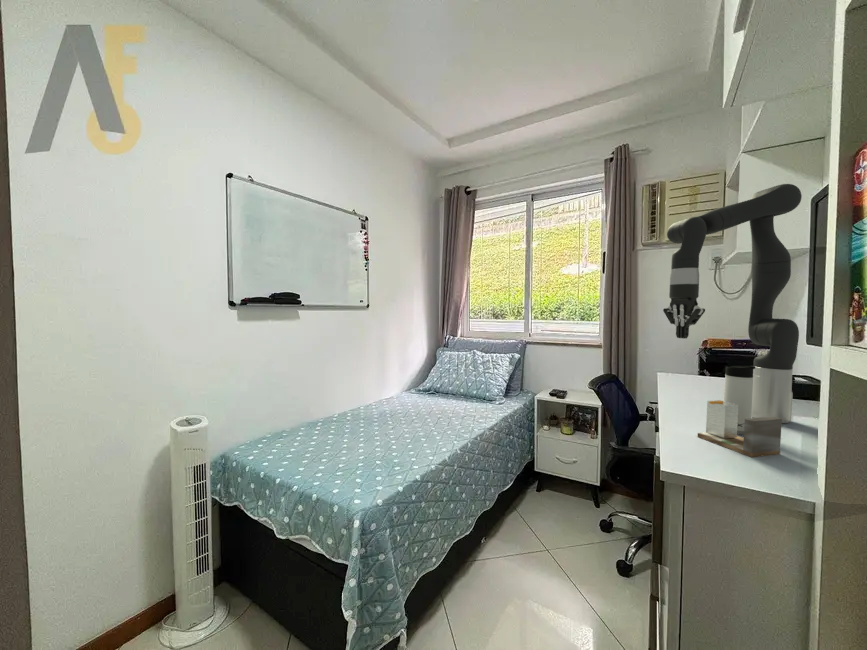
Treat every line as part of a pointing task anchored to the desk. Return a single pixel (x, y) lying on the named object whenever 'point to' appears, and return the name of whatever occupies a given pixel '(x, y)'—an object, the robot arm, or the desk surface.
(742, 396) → the travel mug
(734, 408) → the white card box
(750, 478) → the desk surface
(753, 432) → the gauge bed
